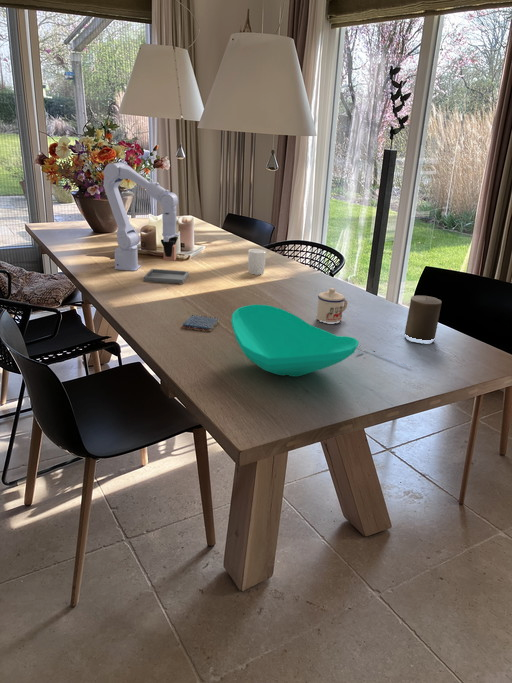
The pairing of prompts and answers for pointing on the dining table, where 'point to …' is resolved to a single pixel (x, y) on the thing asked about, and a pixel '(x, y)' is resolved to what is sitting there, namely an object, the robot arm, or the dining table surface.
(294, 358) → the table top decor
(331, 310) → the teacup with lid
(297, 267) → the dining table surface
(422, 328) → the pillar candle
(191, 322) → the woven mat
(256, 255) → the white cup
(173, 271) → the grey tray
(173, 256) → the tan block
